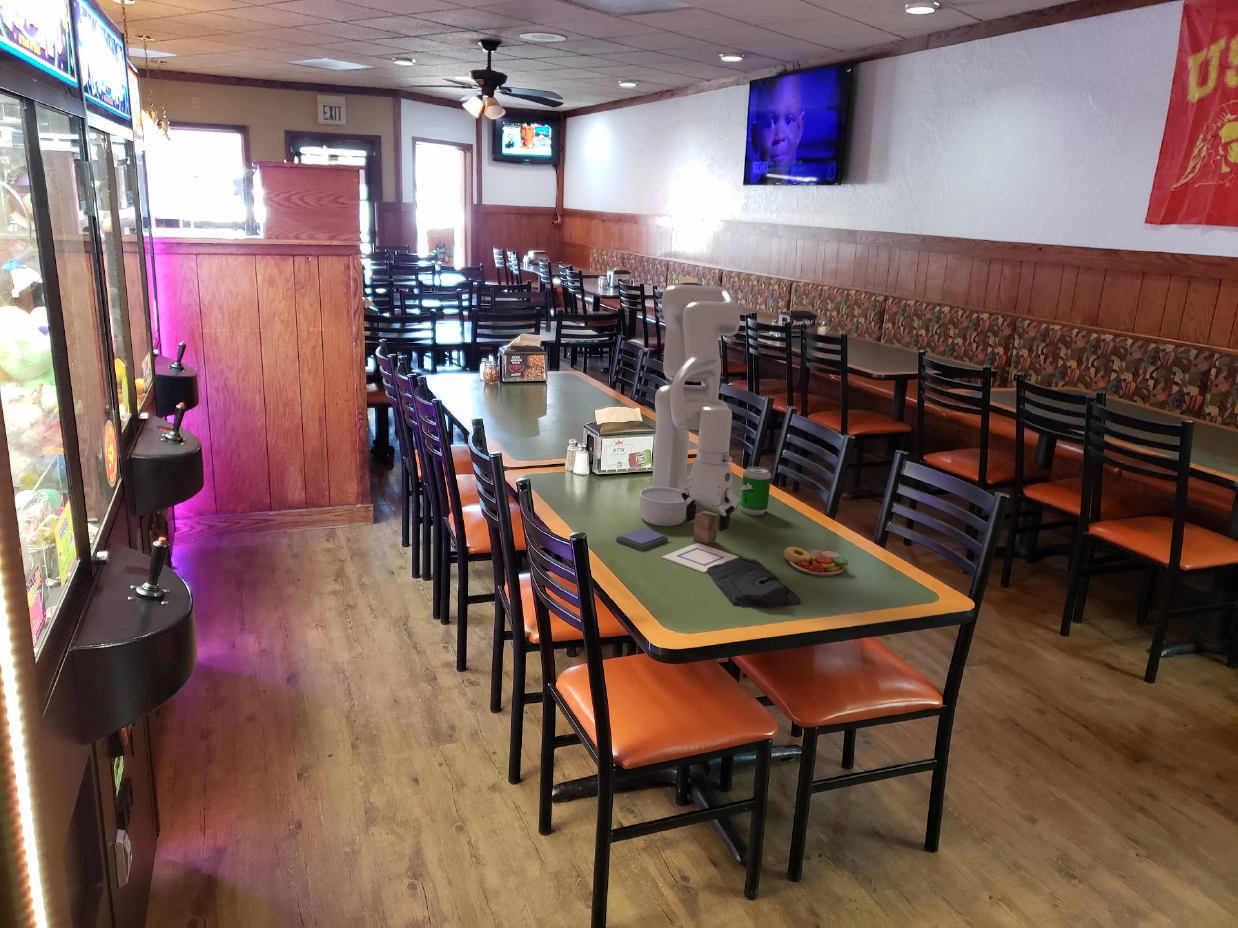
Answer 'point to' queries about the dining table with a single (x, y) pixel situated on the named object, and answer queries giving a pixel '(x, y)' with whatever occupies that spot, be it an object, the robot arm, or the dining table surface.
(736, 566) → the black fabric pouch
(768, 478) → the soda can
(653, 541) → the ink pad
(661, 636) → the dining table surface
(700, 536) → the stamp
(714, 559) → the sheet
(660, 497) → the ramekin
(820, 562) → the toy food set
